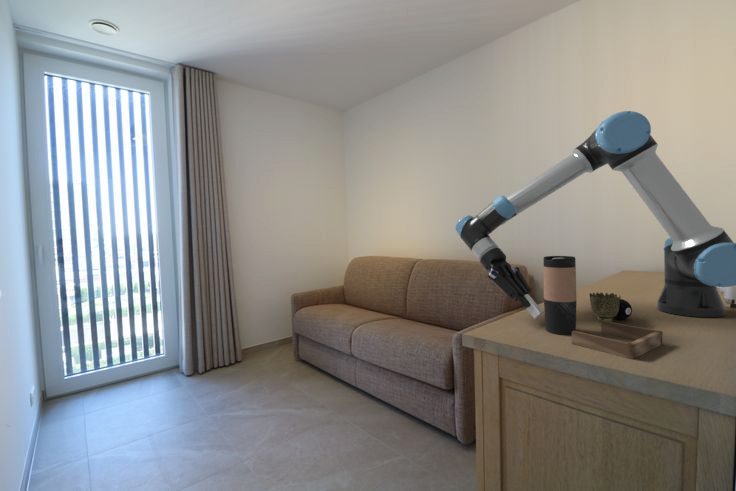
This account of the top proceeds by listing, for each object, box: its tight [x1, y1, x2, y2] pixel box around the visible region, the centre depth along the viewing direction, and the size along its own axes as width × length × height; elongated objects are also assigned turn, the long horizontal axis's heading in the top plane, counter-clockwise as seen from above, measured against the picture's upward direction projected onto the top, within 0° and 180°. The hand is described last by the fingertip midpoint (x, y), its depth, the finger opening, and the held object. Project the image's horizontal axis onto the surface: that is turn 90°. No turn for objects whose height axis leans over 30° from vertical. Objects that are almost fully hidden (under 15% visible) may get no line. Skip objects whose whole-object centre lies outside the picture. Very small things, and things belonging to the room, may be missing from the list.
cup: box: [588, 292, 622, 323], centre depth 99 cm, size 8×7×8 cm
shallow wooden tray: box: [571, 321, 663, 360], centre depth 81 cm, size 15×12×3 cm
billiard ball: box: [612, 298, 633, 321], centre depth 101 cm, size 6×6×6 cm
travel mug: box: [543, 255, 578, 336], centre depth 92 cm, size 8×8×20 cm
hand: (538, 315), depth 97 cm, fingers closed
